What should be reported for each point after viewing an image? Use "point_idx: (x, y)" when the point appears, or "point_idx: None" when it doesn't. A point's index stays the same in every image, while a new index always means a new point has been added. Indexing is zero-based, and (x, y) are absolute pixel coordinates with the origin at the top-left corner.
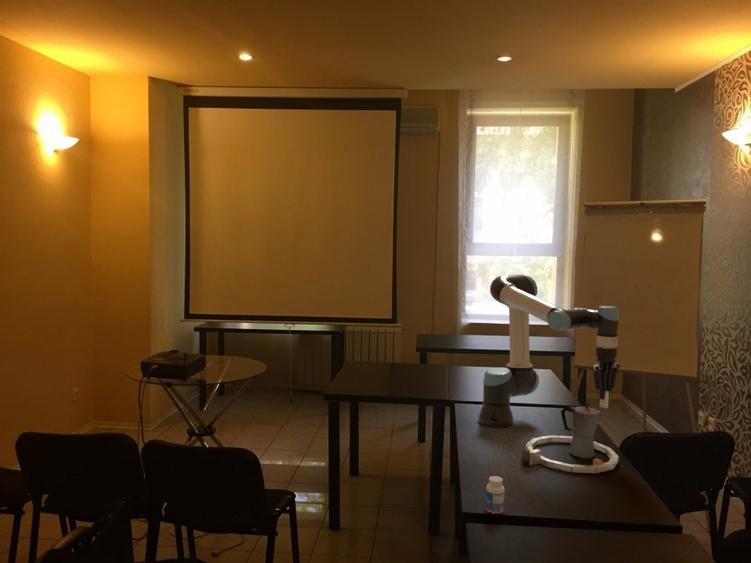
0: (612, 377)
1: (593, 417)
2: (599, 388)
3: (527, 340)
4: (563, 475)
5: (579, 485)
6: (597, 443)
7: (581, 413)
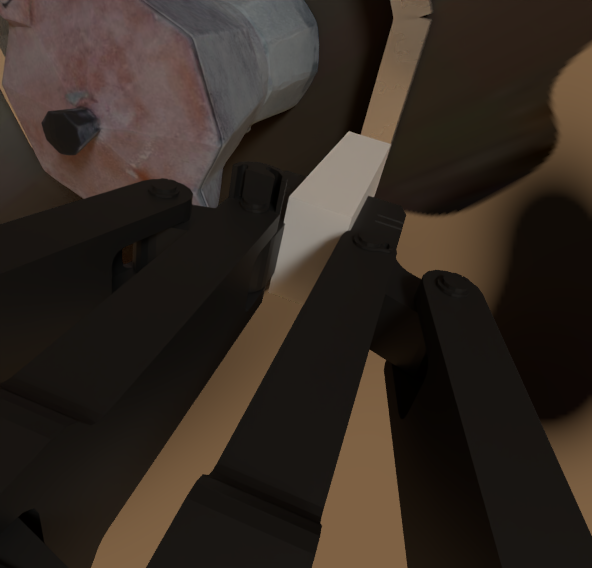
0: (415, 510)
1: None
2: (132, 261)
3: None
4: (17, 130)
5: (17, 211)
6: (399, 72)
7: (23, 122)
